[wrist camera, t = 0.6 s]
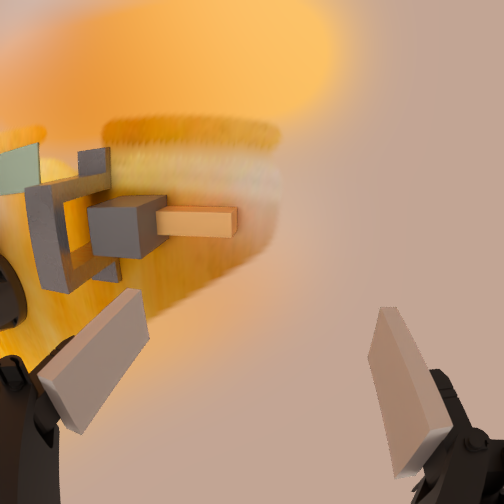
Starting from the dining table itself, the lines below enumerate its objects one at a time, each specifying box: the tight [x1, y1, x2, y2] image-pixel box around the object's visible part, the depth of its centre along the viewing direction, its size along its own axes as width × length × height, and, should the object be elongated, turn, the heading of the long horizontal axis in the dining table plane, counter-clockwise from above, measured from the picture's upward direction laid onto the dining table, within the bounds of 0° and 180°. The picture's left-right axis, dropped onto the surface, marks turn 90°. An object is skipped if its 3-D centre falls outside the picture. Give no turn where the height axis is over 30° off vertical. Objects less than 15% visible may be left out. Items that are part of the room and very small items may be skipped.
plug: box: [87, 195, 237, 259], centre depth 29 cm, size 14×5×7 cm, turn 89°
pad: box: [0, 143, 41, 196], centre depth 34 cm, size 12×7×1 cm, turn 89°
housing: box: [24, 147, 122, 294], centre depth 29 cm, size 4×17×10 cm, turn 179°
